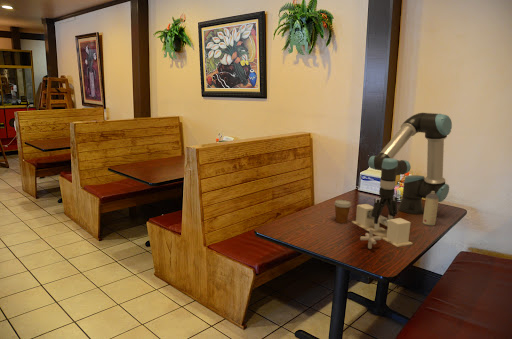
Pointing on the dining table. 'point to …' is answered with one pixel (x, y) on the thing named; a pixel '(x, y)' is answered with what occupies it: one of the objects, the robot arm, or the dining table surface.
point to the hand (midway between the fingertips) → (382, 228)
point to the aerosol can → (430, 209)
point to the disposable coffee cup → (342, 210)
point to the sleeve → (364, 215)
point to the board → (381, 234)
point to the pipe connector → (370, 238)
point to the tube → (382, 219)
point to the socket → (398, 230)
